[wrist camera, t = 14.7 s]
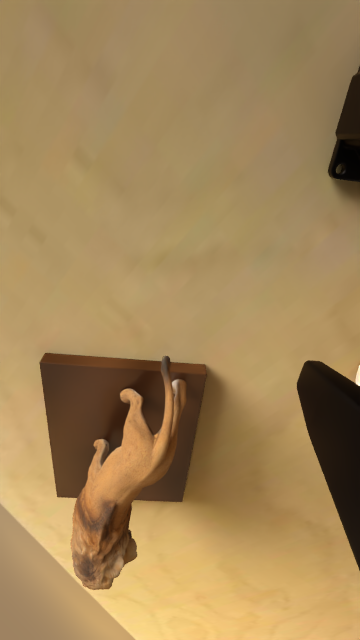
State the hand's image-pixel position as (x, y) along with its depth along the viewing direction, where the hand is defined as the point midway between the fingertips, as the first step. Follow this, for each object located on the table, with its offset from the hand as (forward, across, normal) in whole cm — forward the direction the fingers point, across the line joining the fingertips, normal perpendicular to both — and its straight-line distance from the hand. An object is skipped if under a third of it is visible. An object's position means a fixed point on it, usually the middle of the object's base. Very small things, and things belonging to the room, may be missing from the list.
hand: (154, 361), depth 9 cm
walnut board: (+12, +2, +17) cm, 21 cm away
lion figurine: (+11, +1, +15) cm, 18 cm away
